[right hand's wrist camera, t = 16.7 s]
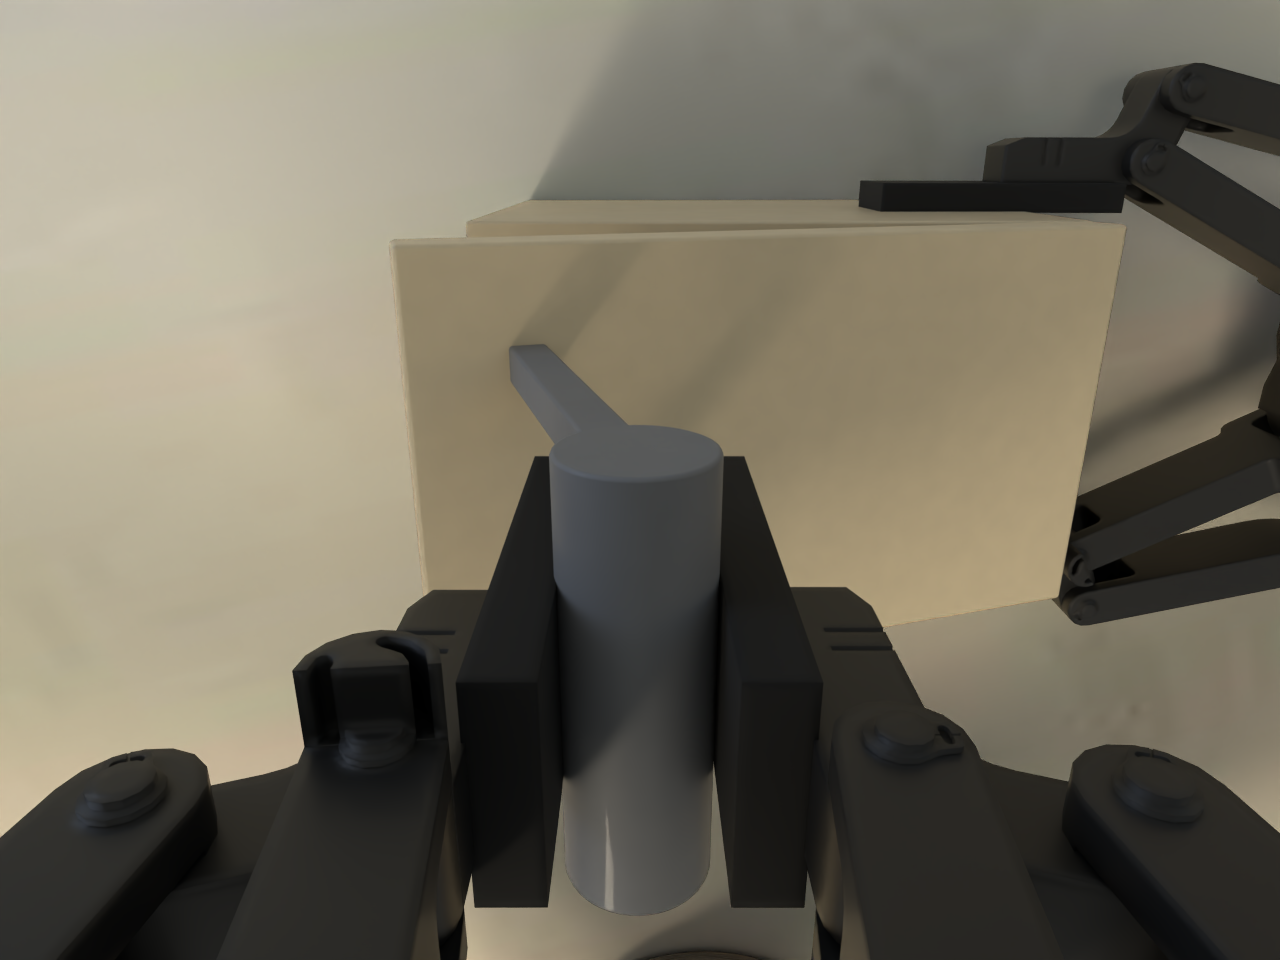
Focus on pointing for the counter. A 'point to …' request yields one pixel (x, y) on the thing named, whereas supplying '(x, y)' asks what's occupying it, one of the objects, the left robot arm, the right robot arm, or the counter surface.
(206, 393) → the counter surface
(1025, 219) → the chest
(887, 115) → the counter surface
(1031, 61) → the counter surface
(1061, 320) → the lid
